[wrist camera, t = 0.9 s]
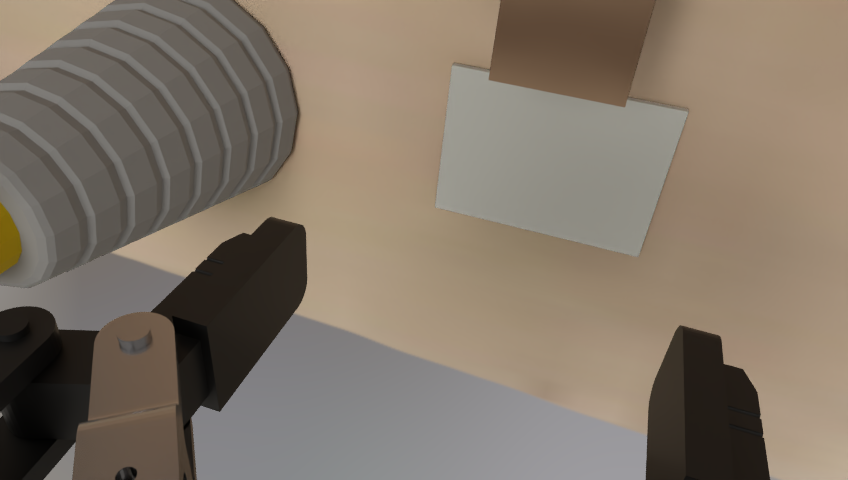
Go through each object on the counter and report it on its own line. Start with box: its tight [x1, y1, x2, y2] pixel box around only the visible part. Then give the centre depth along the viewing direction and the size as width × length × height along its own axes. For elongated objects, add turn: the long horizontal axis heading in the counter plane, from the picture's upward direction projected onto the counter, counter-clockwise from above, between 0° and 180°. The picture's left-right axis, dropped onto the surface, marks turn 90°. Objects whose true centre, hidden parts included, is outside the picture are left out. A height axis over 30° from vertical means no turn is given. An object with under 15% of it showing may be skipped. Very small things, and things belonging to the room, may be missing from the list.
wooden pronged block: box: [489, 0, 656, 107], centre depth 25 cm, size 5×5×7 cm
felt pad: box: [435, 63, 689, 257], centre depth 32 cm, size 8×11×1 cm
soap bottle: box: [0, 0, 298, 288], centre depth 28 cm, size 12×12×20 cm
